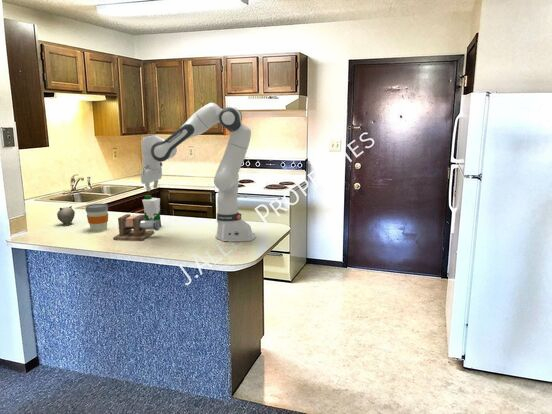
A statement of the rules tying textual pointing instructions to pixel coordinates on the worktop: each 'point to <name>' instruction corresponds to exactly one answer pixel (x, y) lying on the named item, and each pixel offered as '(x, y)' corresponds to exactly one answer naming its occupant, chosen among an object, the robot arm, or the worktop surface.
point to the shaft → (146, 225)
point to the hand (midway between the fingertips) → (152, 189)
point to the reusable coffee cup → (97, 216)
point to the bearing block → (132, 234)
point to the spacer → (130, 220)
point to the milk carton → (151, 208)
